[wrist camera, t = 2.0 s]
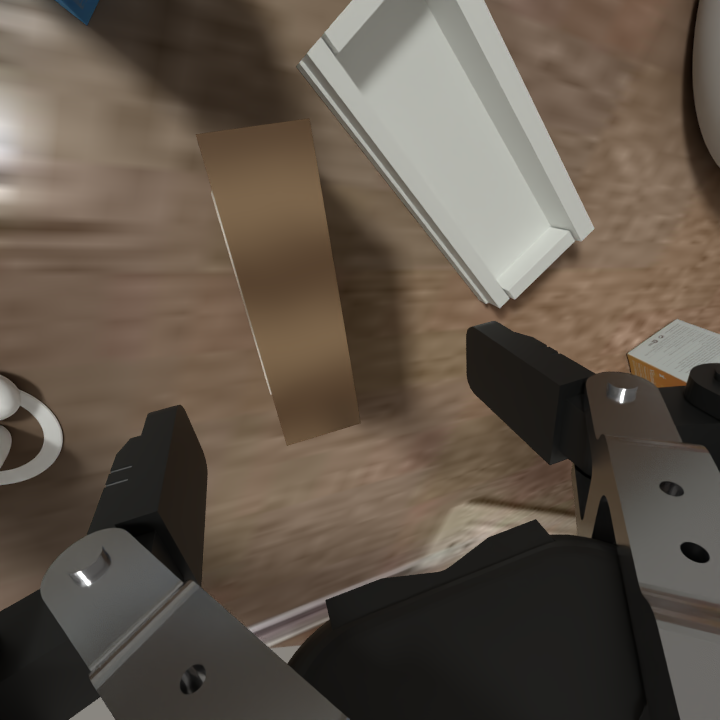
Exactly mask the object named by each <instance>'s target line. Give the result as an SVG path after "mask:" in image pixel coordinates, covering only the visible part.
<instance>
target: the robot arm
mask: <svg viewBox="0 0 720 720" xmlns="http://www.w3.org/2000/svg"><path fill="white" fill-rule="evenodd" d="M466 360H467V379H468V383H469V386H470V388H471V390H472V391H473V392H474V394H475V395H476V396H477V397H478V398H479V399H481V400H482V401H483V402H484V403H485V404H486V405H487V406H488V407H489V408H490V409H491V410H492V411H493V412H494V413H495V414H496V415H497V416H498V417H500V418H501V419H502V420H503V421H504V422H505V423H506V424H507V425H508V426H509V427H510V428H511V429H512V430H513V431H514V432H515V433H516V434H517V435H518V436H520V437H521V438H522V439H523V440H524V441H525V442H526V443H527V444H528V445H529V446H530V447H531V448H532V449H533V450H534V451H535V452H536V453H537V454H539V455H540V456H541V457H542V458H543V459H544V460H545V461H546V462H547V463H548V464H549V465H552V464H555V463H557V462H560V461H563V460H566V459H569V460H571V461H572V462H573V464H572V470H571V477H572V486H573V496H574V505H575V514H576V524H577V536H574V535H549V534H548V533H547V532H546V530H545V529H544V528H543V527H542V526H541V525H540V523H539V522H538V521H537V520H536V519H535V520H533V521H530V522H527V523H525V524H522V525H520V526H517V527H514V528H512V529H509V530H507V531H504V532H501V533H499V534H496V535H494V536H491V537H488V538H487V539H486V540H485V541H483V542H482V543H481V544H479V545H478V546H477V547H475V548H474V549H473V550H471V551H470V552H469V553H467V554H466V555H465V556H463V557H462V558H461V559H460V560H458V561H457V562H456V563H454V564H453V565H452V566H450V567H449V568H447V569H446V570H444V571H441V572H435V573H426V574H417V575H409V576H400V577H391V578H383V579H379V580H377V581H374V582H372V583H369V584H366V585H364V586H361V587H359V588H356V589H353V590H351V591H348V592H346V593H343V594H340V595H338V596H335V597H333V598H330V599H327V600H326V605H327V609H328V613H329V618H330V620H329V621H327V622H326V623H325V624H323V625H322V626H321V627H319V628H318V629H317V630H316V631H315V632H314V633H313V634H312V635H311V636H310V637H309V638H307V639H306V641H305V642H304V643H303V644H302V645H301V646H300V648H299V649H298V650H297V651H296V652H295V654H294V655H293V656H292V658H291V659H290V661H289V662H288V664H287V663H285V662H284V661H283V660H282V659H281V658H280V657H279V656H278V655H276V654H275V653H274V652H273V651H272V650H271V649H270V648H269V647H267V646H266V645H265V644H264V643H263V642H262V641H261V640H260V639H258V638H257V637H256V636H255V635H254V634H253V633H252V632H251V631H249V630H248V629H247V628H246V627H245V626H244V625H243V624H242V623H240V622H239V621H238V620H237V619H236V618H235V617H234V616H233V615H231V614H230V613H229V612H228V611H227V610H226V609H225V608H224V607H222V606H221V605H220V604H219V603H218V602H217V601H216V600H215V599H213V598H212V597H211V596H210V595H209V594H208V593H207V592H206V591H204V590H203V589H202V588H201V580H202V563H203V545H204V528H205V510H206V492H207V464H206V460H205V456H204V453H203V450H202V448H201V446H200V443H199V441H198V439H197V436H196V434H195V432H194V430H193V427H192V425H191V423H190V420H189V418H188V416H187V414H186V411H185V410H184V408H183V407H182V406H181V405H177V406H173V407H169V408H166V409H162V410H158V411H154V412H151V413H149V414H148V415H147V418H146V421H145V425H144V428H143V431H142V434H141V436H138V437H134V438H131V439H130V440H129V441H128V442H127V443H126V444H125V445H124V447H123V448H122V449H121V450H120V451H119V452H118V453H117V455H116V457H115V460H114V463H113V465H112V468H111V474H109V476H108V479H107V482H106V484H105V485H106V488H104V490H103V493H102V495H101V498H100V501H99V503H98V506H97V509H96V512H95V514H94V517H93V520H92V522H91V525H90V528H89V531H88V533H87V536H85V537H83V538H82V539H80V540H78V541H77V542H75V543H74V544H72V545H71V546H70V547H69V548H67V549H66V550H65V551H64V552H63V553H62V554H61V555H59V556H58V557H57V559H56V560H55V561H54V562H53V563H52V564H51V566H50V567H49V569H48V570H47V572H46V574H45V575H44V577H43V580H42V583H41V588H40V589H39V590H37V591H36V592H34V593H32V594H31V595H29V596H27V597H25V598H23V599H22V600H20V601H18V602H16V603H15V604H13V605H11V606H9V607H8V608H6V609H4V610H2V611H0V720H69V719H70V718H71V717H73V716H74V715H76V714H77V713H78V712H80V711H81V710H83V709H84V708H85V707H87V706H88V705H90V704H91V703H92V702H94V701H95V700H96V699H98V698H99V697H101V698H102V700H103V701H104V702H105V704H106V706H107V707H108V709H109V710H110V712H111V713H112V715H113V717H114V718H115V720H720V363H706V364H701V365H697V366H695V367H693V368H692V369H691V370H690V374H689V377H688V380H687V383H686V386H673V387H660V388H657V387H656V386H655V385H654V384H653V383H651V382H650V381H648V380H646V379H644V378H642V377H639V376H636V375H633V374H629V373H623V372H602V373H598V374H595V373H593V372H592V371H590V370H588V369H586V368H585V367H583V366H581V365H580V364H578V363H576V362H574V361H573V360H571V359H569V358H568V357H566V356H564V355H562V354H561V353H560V354H558V352H557V351H556V350H554V349H552V348H550V347H547V345H545V344H544V343H542V342H540V341H538V340H537V339H535V338H533V337H530V336H527V335H523V334H520V333H516V332H513V331H511V330H510V329H508V328H506V327H505V326H503V325H501V324H500V323H498V322H496V321H491V322H488V323H484V324H480V325H477V326H473V327H470V328H469V329H468V330H467V334H466Z"/></svg>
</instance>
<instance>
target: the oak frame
mask: <svg viewBox="0 0 720 720" xmlns="http://www.w3.org/2000/svg"><path fill="white" fill-rule="evenodd" d="M196 137H197V140H198V144H199V147H200V151H201V154H202V157H203V161H204V164H205V168H206V171H207V174H208V178H209V181H210V185H211V188H212V192H211V195H212V198H213V202H214V205H215V208H216V212H217V215H218V219H219V222H220V225H221V229H222V232H223V236H224V239H225V242H226V246H227V249H228V252H229V256H230V259H231V263H232V266H233V269H234V273H235V276H236V280H237V283H238V286H239V290H240V293H241V297H242V300H243V303H244V307H245V310H246V313H247V317H248V320H249V324H250V327H251V330H252V334H253V337H254V341H255V344H256V347H257V351H258V354H259V358H260V361H261V364H262V368H263V371H264V374H265V378H266V381H267V385H268V388H269V391H270V395H271V394H272V396H273V400H274V403H275V407H276V410H277V414H278V417H279V420H280V424H281V427H282V431H283V434H284V437H285V441H286V444H287V446H288V445H291V444H294V443H298V442H301V441H304V440H308V439H311V438H314V437H317V436H321V435H324V434H327V433H330V432H334V431H337V430H340V429H343V428H347V427H350V426H353V425H357V424H360V423H361V421H360V415H359V410H358V404H357V398H356V392H355V386H354V380H353V374H352V368H351V362H350V356H349V350H348V344H347V338H346V333H345V327H344V321H343V315H342V309H341V303H340V297H339V291H338V285H337V279H336V273H335V267H334V261H333V255H332V250H331V244H330V238H329V232H328V226H327V220H326V214H325V208H324V202H323V196H322V190H321V184H320V178H319V173H318V167H317V161H316V155H315V149H314V143H313V137H312V131H311V125H310V119H309V118H308V119H301V120H294V121H287V122H279V123H272V124H265V125H258V126H251V127H244V128H237V129H230V130H223V131H216V132H209V133H202V134H196Z"/></svg>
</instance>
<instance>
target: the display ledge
mask: <svg viewBox="0 0 720 720" xmlns="http://www.w3.org/2000/svg"><path fill="white" fill-rule="evenodd" d="M296 67H297V68H298V70H299V71H300V72H301V73H302V75H303V76H304V77H305V79H306V80H307V81H308V82H309V84H310V85H311V86H312V87H313V89H314V90H315V91H316V93H317V94H318V95H319V96H320V98H321V99H322V100H323V101H324V103H325V104H326V105H327V107H328V108H329V109H330V110H331V112H332V113H333V114H334V115H335V117H336V118H337V119H338V121H339V122H340V123H341V124H342V126H343V127H344V128H345V130H346V131H347V132H348V133H349V135H350V136H351V137H352V138H353V140H354V141H355V142H356V144H357V145H358V146H359V147H360V149H361V150H362V151H363V152H364V154H365V155H366V156H367V158H368V159H369V160H370V161H371V163H372V164H373V165H374V167H375V168H376V169H377V170H378V172H379V173H380V174H381V175H382V177H383V178H384V179H385V181H386V182H387V183H388V184H389V186H390V187H391V188H392V189H393V191H394V192H395V193H396V195H397V196H398V197H399V198H400V200H401V201H402V202H403V203H404V205H405V206H406V207H407V209H408V210H409V211H410V212H411V214H412V215H413V216H414V218H415V219H416V220H417V221H418V223H419V224H420V225H421V226H422V228H423V229H424V230H425V232H426V233H427V234H428V235H429V237H430V238H431V239H432V240H433V242H434V243H435V244H436V246H437V247H438V248H439V249H440V251H441V252H442V253H443V254H444V256H445V257H446V258H447V260H448V261H449V262H450V263H451V265H452V266H453V267H454V269H455V270H456V271H457V272H458V274H459V275H460V276H461V277H462V279H463V280H464V281H465V283H466V284H467V285H468V286H469V288H470V289H471V290H472V291H473V293H474V294H475V295H476V297H477V298H478V299H479V300H480V301H482V302H484V303H485V304H487V303H488V302H489V303H491V304H492V305H494V306H496V307H498V308H501V307H502V306H503V305H504V304H505V303H506V302H507V301H508V300H509V297H510V298H512V299H514V300H515V299H516V298H517V297H518V296H519V295H520V294H521V293H522V292H523V291H524V290H525V289H526V288H527V287H528V286H529V285H530V284H532V283H533V282H534V281H535V280H536V279H537V278H538V277H539V276H540V275H541V274H542V273H543V272H544V271H545V270H546V269H547V268H548V267H549V266H550V265H551V264H552V263H553V262H554V261H555V260H556V259H557V258H558V257H559V256H560V255H561V254H562V253H563V252H564V251H565V250H566V249H567V248H568V247H569V246H570V245H572V244H573V243H574V242H575V240H578V241H582V240H583V239H584V238H585V237H586V236H587V235H588V234H589V233H590V232H592V231H593V230H594V227H593V225H592V223H591V221H590V219H589V216H588V214H587V212H586V210H585V208H584V206H583V204H582V202H581V200H580V198H579V196H578V194H577V192H576V190H575V188H574V185H573V183H572V181H571V179H570V177H569V175H568V173H567V171H566V169H565V167H564V165H563V163H562V161H561V159H560V157H559V155H558V152H557V150H556V148H555V146H554V144H553V142H552V140H551V138H550V136H549V134H548V132H547V130H546V128H545V126H544V124H543V121H542V119H541V117H540V115H539V113H538V111H537V109H536V107H535V105H534V103H533V101H532V99H531V97H530V95H529V93H528V90H527V88H526V86H525V84H524V82H523V80H522V78H521V76H520V74H519V72H518V70H517V68H516V66H515V64H514V62H513V60H512V57H511V55H510V53H509V51H508V49H507V47H506V45H505V43H504V41H503V39H502V37H501V35H500V33H499V31H498V29H497V26H496V24H495V22H494V20H493V18H492V16H491V14H490V12H489V10H488V8H487V6H486V4H485V2H484V0H352V1H351V2H350V4H349V5H348V6H347V7H346V8H345V9H344V11H343V12H342V13H341V14H340V15H339V16H338V18H337V19H336V20H335V21H334V22H333V23H332V25H331V26H330V27H329V28H328V29H327V30H326V32H325V33H324V34H323V35H322V36H321V38H320V39H319V40H318V41H317V42H316V43H315V45H314V46H313V47H312V48H311V49H310V50H309V52H308V53H307V54H306V55H305V56H304V58H303V59H302V60H301V61H300V62H299V64H298V65H297V66H296Z"/></svg>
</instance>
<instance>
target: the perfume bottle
mask: <svg viewBox="0 0 720 720" xmlns="http://www.w3.org/2000/svg"><path fill="white" fill-rule="evenodd" d="M55 1H56V2H58V3H59V4H60V5H61V6H63V7H64V8H65V9H66V10H68V11H69V12H70V13H71V14H73V15H74V16H75V17H76V18H78V19H79V20H80V21H82V22H83V23H84V24H85V25H88V23H89V20H90V18H91V16H92V14H93V12H94V10H95V8H96V6H97V4H98V2H99V0H55Z"/></svg>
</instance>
